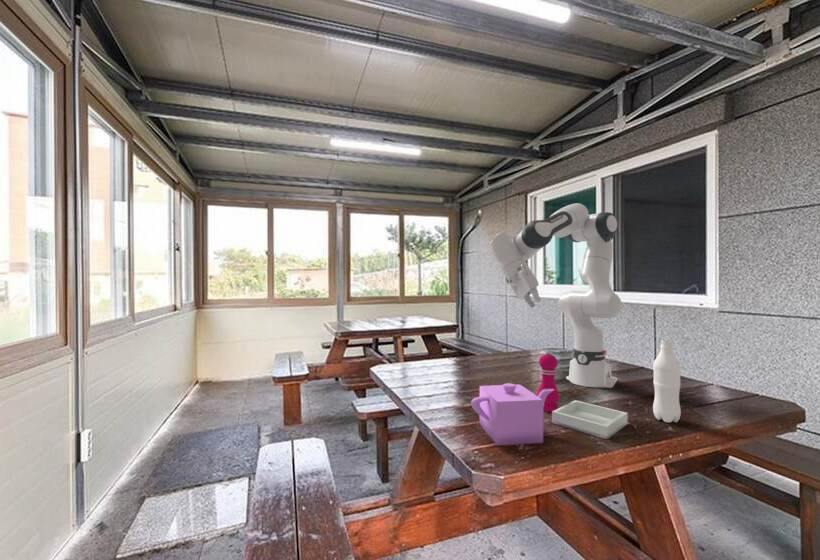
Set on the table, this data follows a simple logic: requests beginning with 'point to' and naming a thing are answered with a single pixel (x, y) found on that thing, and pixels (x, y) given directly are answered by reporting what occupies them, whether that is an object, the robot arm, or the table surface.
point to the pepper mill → (549, 381)
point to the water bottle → (666, 384)
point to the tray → (590, 419)
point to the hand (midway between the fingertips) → (535, 304)
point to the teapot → (511, 413)
